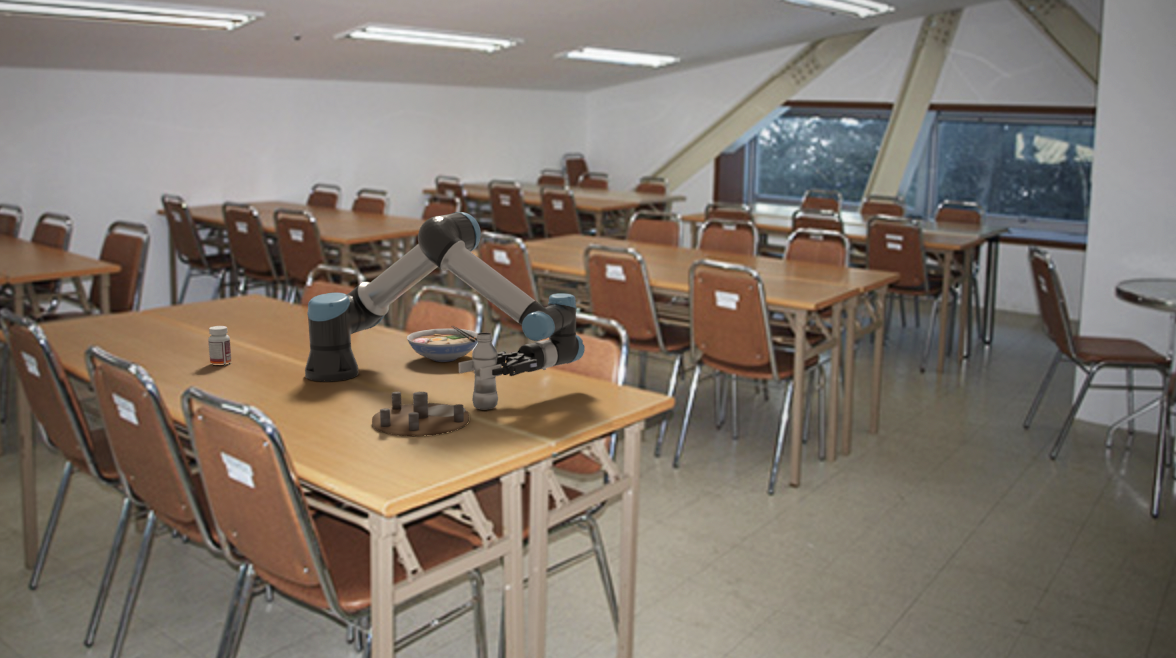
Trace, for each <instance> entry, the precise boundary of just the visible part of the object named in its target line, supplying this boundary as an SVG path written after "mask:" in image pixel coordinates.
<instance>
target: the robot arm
mask: <svg viewBox="0 0 1176 658" xmlns="http://www.w3.org/2000/svg"><path fill="white" fill-rule="evenodd" d="M481 233H482V232H481V228H480V224H479V223H478V221H477V219H475V217H474V216H472V215H471V214H469V213H467V212H462V211H461V212H460V211H455V212H451V213H449V214H444V215H443V214H442V215H436V216H432V217H430V218H427V220H425V221H424V222H423V223H422V224H421V226H420V227H419V231H418V234H417V241H418V244H416V245H415V246H413V247H412V249H410V250H408V252H406V253H405V254H404V255H403V256H401V257H400V258H398V260H397V261H395V262H393V264H391V265H390V266H389V267H388V268H386V269H385V270H384V271H383V272H381V273H380V274H379V275H378V276H377V277H375V278H374V279H373V280H372V281H371V282H370V281H363V282H361V283H359V285H357V286H356V287H354V289H352V290H351V291H349V292H348V293H347V294H346V293H343V292H329V293H322V294H318V295H316V296H313V297H312V298H311V299H310V300H309V301H308V303H307V313H306V314H307V319H308V320H307V321H308V322H307V323H308V333H309V335H308V336H309V354H308V357H307V361H306V364H305V368H304V374H305V375H304V377H305V379H307V380H309V381H314V382H339V381H346V380H350V379H353V378H355V377H357V376H358V375H359V373H360V372H359V365H358V363H357V360H356V357H355V354H354V351H353V350H352V334H356V333H359V332H362V331H365V330H370V329H372V328H374V327H376V326H377V325H379V324H380V323H381V322H382V320H384V317H385V315H386V314H387V313H389V309H390V305H391V304H392V303H394V302H395V301H396V300H397V299H398V298H400V297H401V296H402V295H403V294H405V293H406V292H408V291H409V290H410V289H412V288H413V287H414V286H415V285H417V284H418V283H419V282H421V280H423V279H424V278H425V277H427V276H428V275H429V274H430V273H432V272H433V271H434V270H435V269H437V268H439V269H440V270H442V271H449V272H450V273H452V274H453V275H454V276H456V277H457V278H458V279H460V280H461V281H462V282H464V284H466V285H468V286H469V287H470V288H472V289H473V290H474V291H476V292H477V293H478V294H480V295H481V296H482V297H483V298H485V299H486V300H487V301H489V302H490V303H491V304H493V305H495V306H496V308H498V309H499V310H500V311H502V312H504V314H506V315H507V316H509V317H510V318H511V319H513V320H514V321H515V322H517V323H518V324H519V325H521V328H522V332H523V333H524V336H525V337H526V338H527V339H529V340H531V341H533V342H531V343H526V344H522V345H520V347H519V348H518V350H517V351H512V352H509V353H507V352H506V350H505V351H503V350H502V351H499V352H497V353H498V357H497V364H496V365H495V366H490V367H486V368H481V369H480V379H481V380H483V379H487V378H492V377H496V378H497V377H499V376H507V375H509V377H514V376H518V375H519V374H523V373H532V372H536V371H540V370H542V371H546V370H547V369H548V368H552V367H556V366H562V365H566V364H567V365H568V364H571V363H573V362H576V361H577V362H578V361H579V360H581V359H582V358H583V357H584V354H585V351H586V350H585V349H586V348H585V344H584V341H583V339H582V337H580V336H579V335H578V334H577V299H576V296H575V295H573V294H571V293H553V294H550V295H549V296H548V303H547V306H546V307H544V306H543V305H542V304H541V303H539V302H537V301H536V300H535V299H534V298H533V297H531V296H530V295H528V294H527V293H526V292H525V291H523V290H522V289H521V288H519V287H518V286H517V285H515V284H514V283H513V282H512V281H510V280H509V279H507V278H506V277H505V276H504V275H502V274H501V273H500V272H498V271H497V270H495V269H494V268H493V267H491V266H490V265H489V264H488V263H486V262H485V261H484V260H483V259H481V258H480V257H478V256H477V255H475V254H474V253H473V252H472V251H474V250H475V249H476V248H477V247H478V246H479V244H480V241H481V235H482V234H481ZM468 372H474V365H473V359H470V360H464V361H461V362H458V373H459V374H465V373H468Z"/></svg>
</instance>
